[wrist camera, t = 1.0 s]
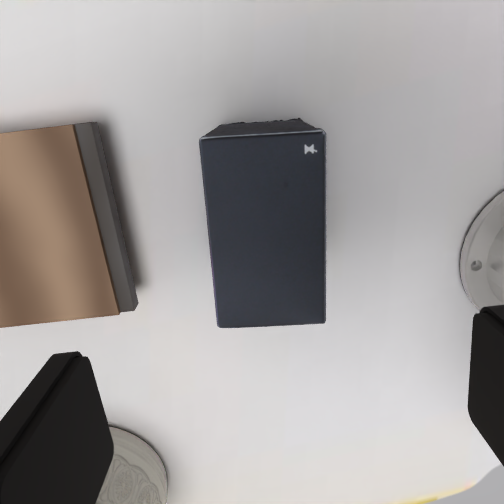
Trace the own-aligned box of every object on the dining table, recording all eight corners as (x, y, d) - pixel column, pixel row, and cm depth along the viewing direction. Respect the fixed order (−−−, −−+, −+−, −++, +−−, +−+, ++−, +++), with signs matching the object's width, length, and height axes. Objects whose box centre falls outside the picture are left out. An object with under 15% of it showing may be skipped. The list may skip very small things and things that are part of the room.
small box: (211, 123, 29) (191, 132, 20) (304, 117, 29) (332, 123, 19) (223, 264, 33) (212, 332, 23) (307, 259, 33) (331, 326, 23)
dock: (108, 120, 29) (87, 122, 25) (145, 289, 34) (132, 313, 30) (-100, 146, 30) (-151, 152, 26) (-37, 310, 34) (-73, 335, 30)
